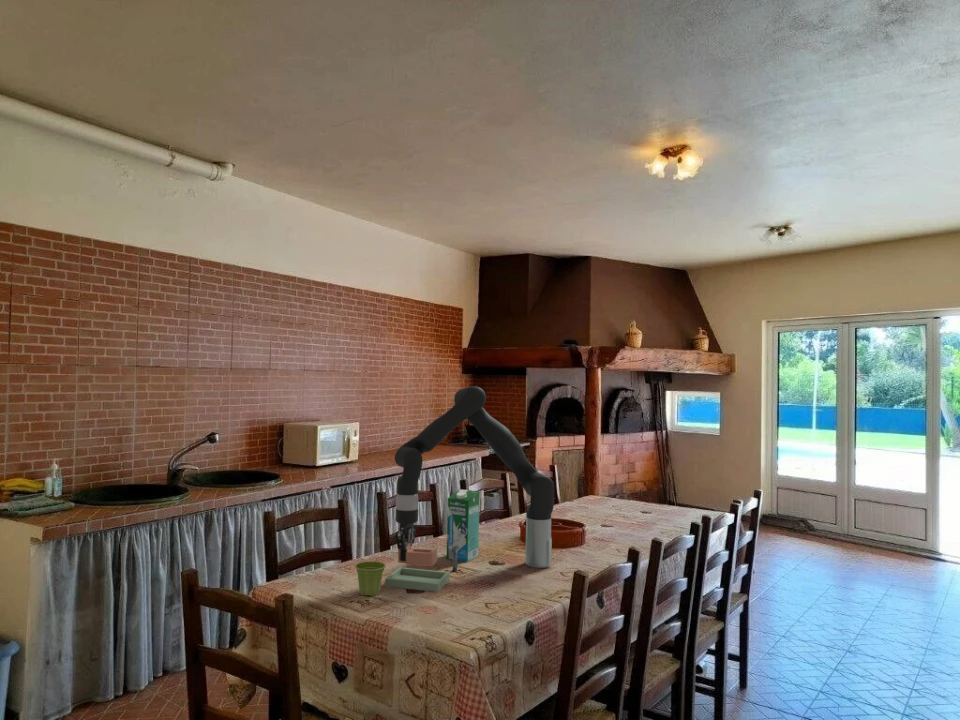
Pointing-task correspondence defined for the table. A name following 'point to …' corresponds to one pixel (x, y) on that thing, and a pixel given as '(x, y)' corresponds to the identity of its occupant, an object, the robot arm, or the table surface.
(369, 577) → the plant pot
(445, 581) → the tray
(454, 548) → the hammer
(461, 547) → the milk carton
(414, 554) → the collar
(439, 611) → the table surface
